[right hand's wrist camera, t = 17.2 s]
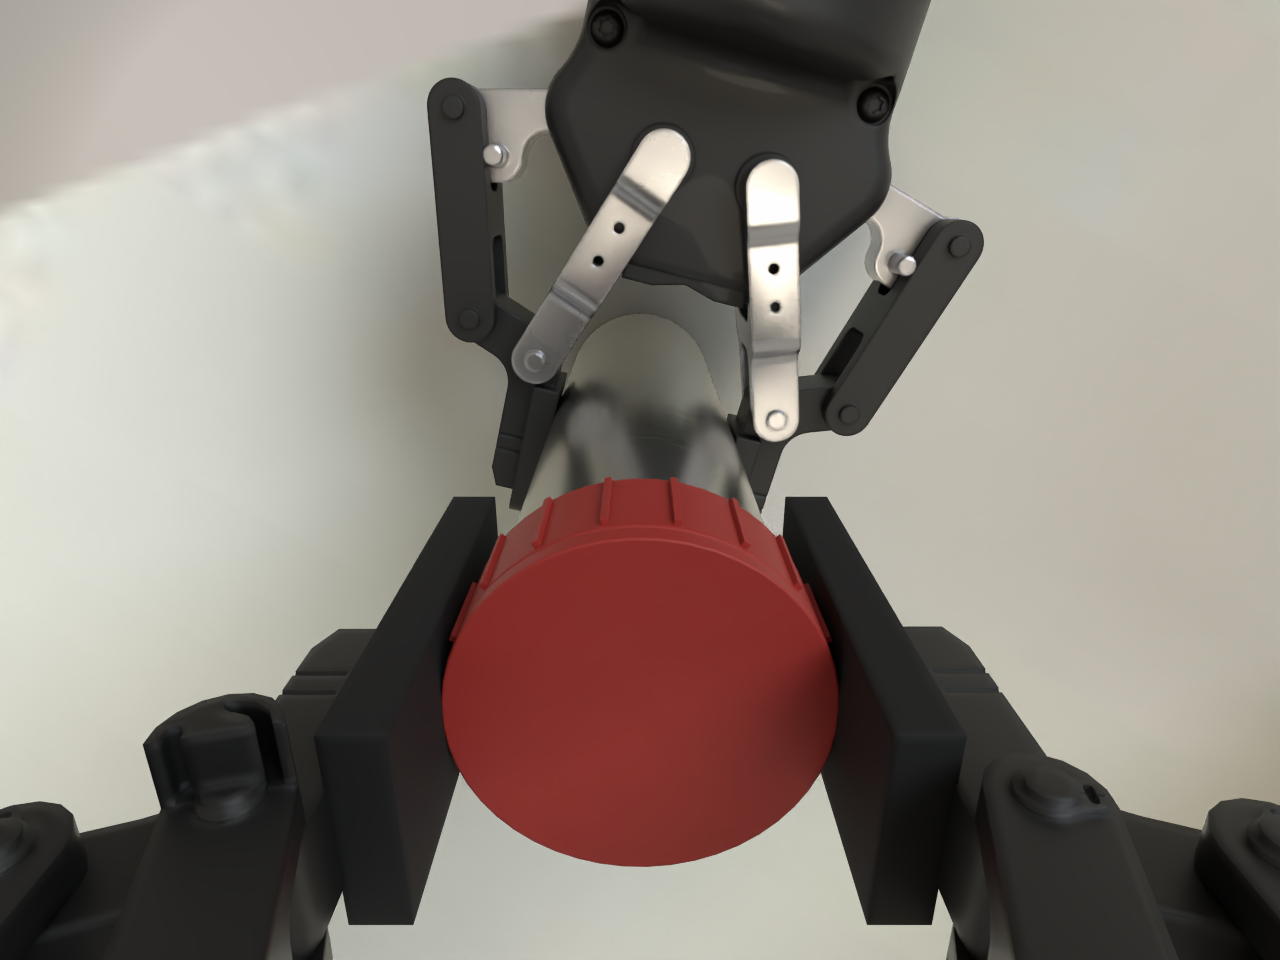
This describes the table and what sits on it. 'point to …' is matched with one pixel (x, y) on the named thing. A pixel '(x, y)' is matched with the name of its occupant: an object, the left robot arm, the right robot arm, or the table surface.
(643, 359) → the jar
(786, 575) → the lid
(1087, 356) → the table surface
